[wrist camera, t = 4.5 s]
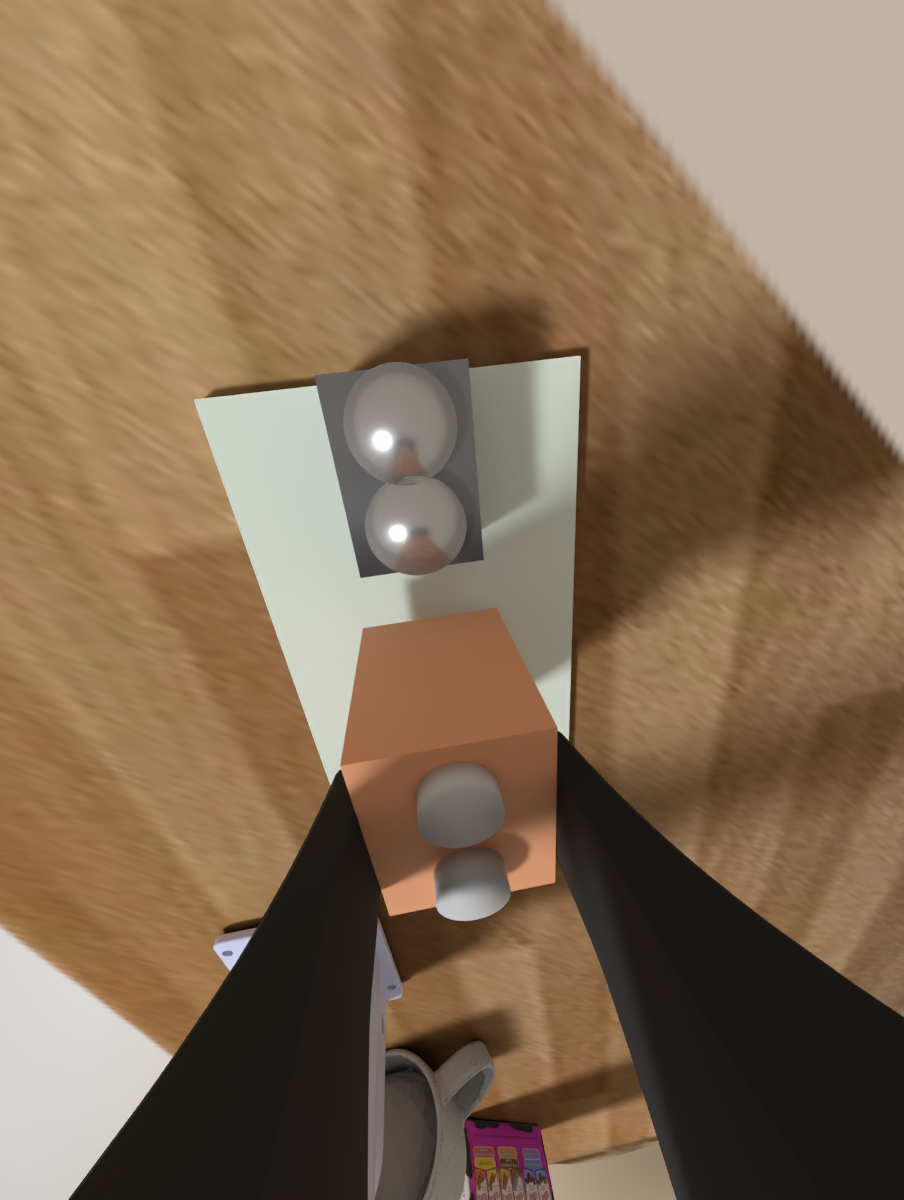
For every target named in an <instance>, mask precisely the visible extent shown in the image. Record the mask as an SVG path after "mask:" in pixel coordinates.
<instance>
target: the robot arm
mask: <svg viewBox="0 0 904 1200" xmlns="http://www.w3.org/2000/svg"><path fill="white" fill-rule="evenodd" d="M556 856H557V859H558V861H559V864H560V866H561V869H562V871H563V874H564V876H565V878H566V881H567V883H568V886H569V888H570V890H571V893H572V895H573V898H574V900H575V902H576V905H577V907H578V910H579V912H580V915H581V917H582V919H583V922H584V924H585V927H586V929H587V931H588V934H589V936H590V939H591V941H592V944H593V946H594V948H595V951H596V954H597V956H598V959H599V962H600V964H601V967H602V970H603V972H604V975H605V978H606V981H607V984H608V987H609V990H610V993H611V996H612V999H613V1002H614V1005H615V1008H616V1011H617V1014H618V1017H619V1020H620V1023H621V1026H622V1029H623V1032H624V1035H625V1038H626V1041H627V1044H628V1047H629V1050H630V1054H631V1057H632V1060H633V1063H634V1066H635V1069H636V1072H637V1075H638V1078H639V1081H640V1085H641V1088H642V1091H643V1094H644V1097H645V1100H646V1103H647V1106H648V1109H649V1113H650V1116H651V1119H652V1122H653V1125H654V1129H655V1132H656V1135H657V1138H658V1141H659V1145H660V1148H661V1151H662V1154H663V1157H664V1160H665V1164H666V1167H667V1170H668V1173H669V1176H670V1180H671V1183H672V1186H673V1189H674V1192H675V1195H676V1199H677V1200H904V1017H903V1016H901V1015H900V1014H898V1013H897V1012H895V1011H894V1010H892V1009H891V1008H889V1007H888V1006H886V1005H885V1004H883V1003H882V1002H881V1001H879V1000H878V999H876V998H875V997H873V996H872V995H870V994H869V993H867V992H866V991H864V990H863V989H861V988H860V987H858V986H857V985H855V984H854V983H852V982H851V981H850V980H848V979H847V978H845V977H844V976H843V975H841V974H840V973H838V972H837V971H836V970H834V969H833V968H831V967H830V966H829V965H827V964H826V963H824V962H823V961H822V960H820V959H819V958H818V957H816V956H815V955H813V954H812V953H811V952H809V951H808V950H806V949H805V948H804V947H802V946H801V945H799V944H798V943H797V942H795V941H794V940H792V939H791V938H790V937H788V936H787V935H785V934H784V933H783V932H781V931H780V930H778V929H777V928H776V927H774V926H773V925H772V924H770V923H769V922H768V921H766V920H765V919H764V918H762V917H761V916H760V915H759V914H757V913H756V912H755V911H753V910H752V909H751V908H749V907H748V906H747V905H746V904H744V903H743V902H742V901H740V900H739V899H738V898H737V897H735V896H734V895H733V894H731V893H730V892H729V891H728V890H726V889H725V888H724V887H723V886H722V885H720V884H719V883H718V882H717V881H715V880H714V879H713V878H712V877H710V876H709V875H708V874H707V873H705V872H704V871H703V870H702V869H701V868H700V867H698V866H697V865H696V864H695V863H694V862H692V861H691V860H690V859H689V858H688V857H687V856H685V855H684V854H683V853H682V852H681V851H680V850H678V849H677V848H676V847H675V846H674V845H673V844H672V843H671V842H669V841H668V840H667V839H666V838H665V837H664V836H663V835H662V834H661V833H659V832H658V831H657V830H656V829H655V828H654V827H653V826H652V825H651V824H650V823H649V822H647V821H646V820H645V819H644V818H643V817H642V816H641V815H640V814H639V813H638V812H637V811H636V810H635V809H634V808H633V807H632V806H631V805H630V804H629V803H628V802H627V801H626V800H625V799H624V798H623V797H621V796H620V795H619V794H618V793H617V792H616V791H615V790H614V789H613V788H612V787H611V786H610V785H609V784H608V783H607V782H606V781H605V780H604V779H603V777H602V776H601V775H600V774H599V773H598V772H597V771H596V770H595V769H594V768H593V767H592V766H591V765H590V764H589V763H588V762H587V761H586V759H585V758H584V757H583V756H582V755H581V754H580V753H579V752H578V751H577V750H576V748H575V747H574V746H573V745H572V744H571V743H570V742H569V741H568V739H567V738H566V737H565V736H564V735H563V734H562V733H561V732H559V731H558V732H557V794H556ZM380 890H381V888H380V885H379V882H378V879H377V876H376V873H375V870H374V867H373V864H372V861H371V858H370V855H369V852H368V849H367V846H366V843H365V840H364V837H363V834H362V831H361V828H360V825H359V822H358V819H357V816H356V813H355V810H354V807H353V804H352V801H351V798H350V795H349V792H348V789H347V786H346V783H345V780H344V777H343V774H342V771H341V770H339V771H338V772H337V773H336V775H335V777H334V779H333V782H332V784H331V786H330V788H329V791H328V793H327V795H326V797H325V800H324V802H323V804H322V806H321V808H320V810H319V813H318V815H317V817H316V819H315V821H314V823H313V825H312V827H311V829H310V831H309V833H308V835H307V837H306V839H305V841H304V843H303V845H302V847H301V849H300V851H299V853H298V855H297V856H296V858H295V860H294V862H293V864H292V866H291V868H290V870H289V872H288V874H287V876H286V877H285V879H284V881H283V883H282V885H281V886H280V888H279V890H278V892H277V893H276V895H275V897H274V899H273V900H272V902H271V904H270V906H269V907H268V909H267V911H266V913H265V914H264V916H263V918H262V920H261V922H260V923H259V925H258V927H257V928H252V929H247V930H242V931H237V932H232V933H227V934H223V935H220V936H219V937H217V939H216V941H215V944H214V947H213V948H214V950H215V952H216V953H217V954H218V956H219V957H220V958H221V960H222V961H223V962H224V964H225V965H226V966H227V968H228V969H229V970H230V972H229V974H228V975H227V977H226V979H225V980H224V982H223V983H222V985H221V986H220V988H219V989H218V991H217V993H216V994H215V996H214V997H213V999H212V1000H211V1002H210V1003H209V1005H208V1006H207V1008H206V1009H205V1011H204V1012H203V1014H202V1015H201V1017H200V1018H199V1020H198V1021H197V1023H196V1024H195V1025H194V1027H193V1028H192V1030H191V1031H190V1033H189V1034H188V1036H187V1037H186V1039H185V1040H184V1042H183V1043H182V1045H181V1046H180V1047H179V1049H178V1050H177V1052H176V1053H175V1055H174V1056H173V1058H172V1059H171V1061H170V1062H169V1064H168V1065H167V1066H166V1068H165V1069H164V1071H163V1072H162V1073H161V1075H160V1076H159V1078H158V1079H157V1081H156V1082H155V1084H154V1085H153V1086H152V1088H151V1089H150V1090H149V1092H148V1093H147V1095H146V1096H145V1097H144V1099H143V1100H142V1102H141V1103H140V1105H139V1106H138V1107H137V1108H136V1110H135V1111H134V1112H133V1114H132V1115H131V1116H130V1118H129V1119H128V1121H127V1122H126V1123H125V1125H124V1126H123V1127H122V1128H121V1130H120V1131H119V1133H118V1134H117V1135H116V1137H115V1138H114V1139H113V1140H112V1142H111V1143H110V1145H109V1146H108V1147H107V1149H106V1150H105V1151H104V1153H103V1154H102V1155H101V1157H100V1158H99V1159H98V1161H97V1162H96V1163H95V1165H94V1166H93V1167H92V1169H91V1170H90V1171H89V1173H88V1174H87V1176H86V1177H85V1178H84V1179H83V1181H82V1182H81V1183H80V1185H79V1186H78V1187H77V1189H76V1190H75V1191H74V1193H73V1194H72V1195H71V1197H70V1198H69V1200H374V1199H375V1196H376V1192H377V1188H378V1183H379V1179H380V1174H381V1168H382V1160H383V1145H384V1097H385V1048H386V1001H388V1000H393V999H397V998H399V997H401V996H402V994H403V985H402V983H401V980H400V977H399V974H398V971H397V968H396V965H395V963H394V960H393V957H392V954H391V951H390V948H389V946H388V943H387V940H386V937H385V934H384V931H383V929H382V926H381V923H380V920H379V917H378V914H379V902H380Z"/></svg>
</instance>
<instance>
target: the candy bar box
mask: <svg viewBox="0 0 904 1200" xmlns="http://www.w3.org/2000/svg"><path fill="white" fill-rule="evenodd" d="M463 1128H464V1134H465V1141H466V1154H467V1158H466V1173H465V1181H464V1187H463V1191H462V1195H461V1199H460V1200H554V1196H553V1190H552V1185H551V1180H550V1175H549V1170H548V1165H547V1160H546V1155H545V1150H544V1145H543V1140H542V1135H541V1130H540V1127H539V1126H538V1125H529V1124H519V1123H507V1122H496V1121H483V1120H471V1119H466V1120H465V1122H464V1127H463Z"/></svg>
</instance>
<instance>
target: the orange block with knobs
mask: <svg viewBox="0 0 904 1200" xmlns="http://www.w3.org/2000/svg"><path fill="white" fill-rule="evenodd" d="M557 732H558V727H557V725H556V723H555V722H554V720H553V718H552V716H551V714H550V712H549V710H548V708H547V706H546V704H545V702H544V700H543V698H542V696H541V694H540V692H539V690H538V688H537V686H536V684H535V682H534V680H533V678H532V676H531V674H530V672H529V671H528V669H527V667H526V665H525V663H524V661H523V659H522V657H521V655H520V653H519V651H518V649H517V647H516V645H515V643H514V641H513V639H512V637H511V635H510V633H509V631H508V629H507V627H506V625H505V623H504V621H503V620H502V618H501V616H500V614H499V612H498V610H497V608H490V609H484V610H477V611H471V612H465V613H458V614H452V615H445V616H439V617H432V618H426V619H419V620H413V621H406V622H400V623H394V624H387V625H381V626H374V627H368V628H363V631H362V637H361V643H360V649H359V655H358V661H357V667H356V673H355V679H354V685H353V691H352V697H351V703H350V709H349V715H348V721H347V727H346V733H345V739H344V745H343V751H342V757H341V763H340V768H341V771H342V774H343V777H344V780H345V783H346V786H347V789H348V792H349V795H350V798H351V801H352V804H353V807H354V810H355V813H356V816H357V819H358V822H359V825H360V828H361V831H362V834H363V837H364V840H365V843H366V846H367V849H368V852H369V855H370V858H371V861H372V864H373V867H374V870H375V873H376V876H377V879H378V882H379V885H380V888H381V891H382V894H383V897H384V900H385V903H386V906H387V909H388V912H389V915H390V916H393V915H398V914H403V913H408V912H413V911H418V910H423V909H428V908H433V907H436V908H437V910H438V912H439V913H440V914H441V915H443V916H444V917H446V918H448V919H452V920H457V921H471V920H477V919H481V918H484V917H487V916H490V915H492V914H494V913H496V912H497V911H499V910H500V909H502V908H503V907H504V906H505V905H506V904H507V902H508V901H509V899H510V896H511V891H516V890H521V889H526V888H531V887H536V886H541V885H546V884H551V883H555V856H556V794H557Z"/></svg>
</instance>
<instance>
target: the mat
mask: <svg viewBox="0 0 904 1200" xmlns="http://www.w3.org/2000/svg"><path fill="white" fill-rule="evenodd" d="M580 360H581V356H573V357H564V358H555V359H546V360H537V361H529V362H520V363H511V364H502V365H493V366H485V367H476V368H469V374H470V387H471V400H472V413H473V426H474V439H475V452H476V465H477V478H478V491H479V504H480V517H481V530H482V543H483V556H484V560H480V561H474V562H467V563H460V564H453V565H447V566H445V567H444V568H442V569H440V570H438V571H436V572H433V573H430V574H426V575H418V576H417V575H406V574H402V573H392V574H385V575H378V576H371V577H365V578H360V574H359V570H358V565H357V561H356V557H355V552H354V548H353V543H352V539H351V535H350V530H349V526H348V522H347V517H346V513H345V508H344V504H343V500H342V495H341V491H340V487H339V482H338V478H337V474H336V469H335V465H334V460H333V456H332V452H331V447H330V443H329V439H328V434H327V430H326V425H325V421H324V417H323V412H322V408H321V404H320V399H319V395H318V390H317V386H309V387H300V388H291V389H282V390H273V391H264V392H256V393H247V394H238V395H229V396H220V397H212V398H203V399H194V402H195V405H196V408H197V411H198V414H199V416H200V419H201V422H202V425H203V428H204V430H205V433H206V436H207V439H208V442H209V445H210V447H211V450H212V453H213V456H214V459H215V461H216V464H217V467H218V470H219V473H220V476H221V478H222V481H223V484H224V487H225V490H226V492H227V495H228V498H229V501H230V504H231V507H232V509H233V512H234V515H235V518H236V521H237V523H238V526H239V529H240V532H241V535H242V538H243V540H244V543H245V546H246V549H247V552H248V554H249V557H250V560H251V563H252V566H253V569H254V571H255V574H256V577H257V580H258V583H259V585H260V588H261V591H262V594H263V597H264V600H265V602H266V605H267V608H268V611H269V614H270V616H271V619H272V622H273V625H274V628H275V631H276V633H277V636H278V639H279V642H280V645H281V647H282V650H283V653H284V656H285V659H286V662H287V664H288V667H289V670H290V673H291V676H292V678H293V681H294V684H295V687H296V690H297V693H298V695H299V698H300V701H301V704H302V707H303V710H304V712H305V715H306V718H307V721H308V724H309V726H310V729H311V732H312V735H313V738H314V741H315V743H316V746H317V749H318V752H319V755H320V757H321V760H322V763H323V766H324V769H325V772H326V774H327V777H328V780H329V783H330V786H331V784H332V782H333V779H334V777H335V775H336V773H337V772H338V771H339V770H341V768H340V763H341V757H342V751H343V745H344V739H345V733H346V727H347V721H348V715H349V709H350V703H351V697H352V691H353V685H354V679H355V673H356V667H357V661H358V655H359V649H360V643H361V637H362V631H363V628H368V627H374V626H381V625H387V624H394V623H400V622H406V621H413V620H419V619H426V618H432V617H439V616H445V615H452V614H458V613H465V612H471V611H477V610H484V609H490V608H497V610H498V612H499V614H500V616H501V618H502V620H503V621H504V623H505V625H506V627H507V629H508V631H509V633H510V635H511V637H512V639H513V641H514V643H515V645H516V647H517V649H518V651H519V653H520V655H521V657H522V659H523V661H524V663H525V665H526V667H527V669H528V671H529V672H530V674H531V676H532V678H533V680H534V682H535V684H536V686H537V688H538V690H539V692H540V694H541V696H542V698H543V700H544V702H545V704H546V706H547V708H548V710H549V712H550V714H551V716H552V718H553V720H554V722H555V723H556V725H557V727H558V731H559V732H561V733H562V734H563V735H564V736H565V737H566V738H567V739H568V741H569V718H570V685H571V653H572V620H573V587H574V555H575V522H576V490H577V457H578V425H579V392H580Z"/></svg>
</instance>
